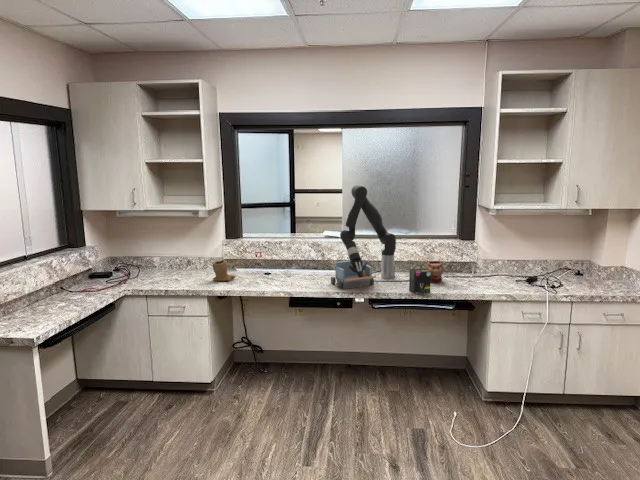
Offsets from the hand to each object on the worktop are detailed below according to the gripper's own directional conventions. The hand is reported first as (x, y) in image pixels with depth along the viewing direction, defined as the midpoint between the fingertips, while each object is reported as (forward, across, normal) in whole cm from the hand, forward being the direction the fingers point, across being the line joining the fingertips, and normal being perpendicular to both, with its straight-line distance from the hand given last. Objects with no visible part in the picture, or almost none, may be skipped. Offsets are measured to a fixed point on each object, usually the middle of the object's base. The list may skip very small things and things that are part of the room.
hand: (361, 277), depth 276 cm
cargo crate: (-5, +5, +9) cm, 12 cm away
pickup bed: (-4, 0, +17) cm, 17 cm away
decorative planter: (+6, +58, +6) cm, 59 cm away
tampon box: (+19, +33, -7) cm, 39 cm away
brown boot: (-34, -83, +50) cm, 103 cm away
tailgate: (-2, 0, +6) cm, 6 cm away
